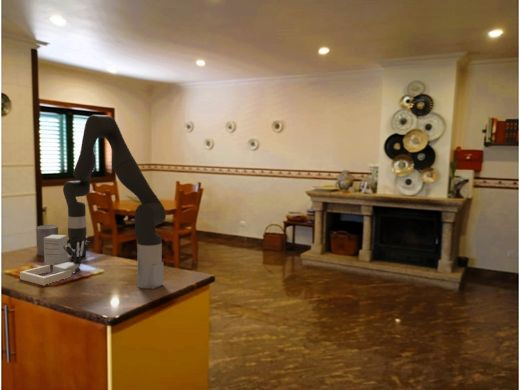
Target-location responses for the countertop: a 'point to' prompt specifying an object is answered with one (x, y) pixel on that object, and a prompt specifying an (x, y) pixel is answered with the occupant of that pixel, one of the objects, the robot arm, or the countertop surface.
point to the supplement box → (55, 249)
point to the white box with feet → (66, 267)
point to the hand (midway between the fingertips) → (77, 264)
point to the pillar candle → (42, 233)
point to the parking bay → (35, 278)
